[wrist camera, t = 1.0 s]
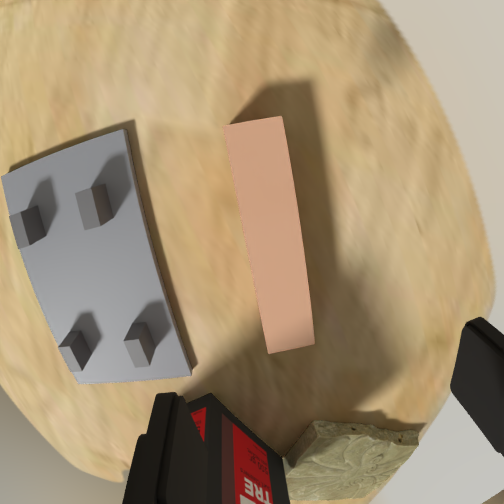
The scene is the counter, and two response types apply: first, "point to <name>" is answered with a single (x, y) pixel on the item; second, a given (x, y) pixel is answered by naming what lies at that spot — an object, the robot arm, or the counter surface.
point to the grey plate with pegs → (95, 263)
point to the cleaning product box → (237, 458)
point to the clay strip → (271, 230)
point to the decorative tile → (344, 460)
